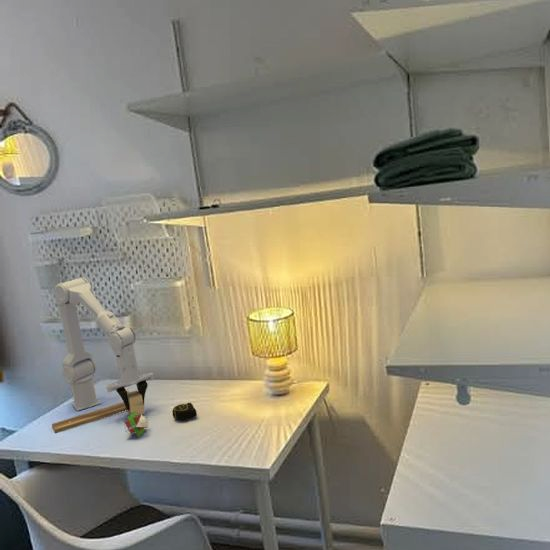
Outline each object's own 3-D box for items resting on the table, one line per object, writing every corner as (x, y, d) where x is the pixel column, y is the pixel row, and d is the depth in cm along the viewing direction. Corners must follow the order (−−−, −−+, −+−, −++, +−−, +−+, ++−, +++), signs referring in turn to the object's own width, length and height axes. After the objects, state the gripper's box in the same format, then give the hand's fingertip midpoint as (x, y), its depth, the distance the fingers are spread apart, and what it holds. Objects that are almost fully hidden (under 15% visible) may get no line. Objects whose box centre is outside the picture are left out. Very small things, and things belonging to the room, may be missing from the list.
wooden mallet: (121, 405, 198) (118, 388, 197) (133, 401, 200) (130, 384, 199) (132, 417, 187) (129, 398, 186) (145, 413, 189) (141, 395, 188)
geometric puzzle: (115, 432, 174) (125, 412, 171) (127, 422, 180) (137, 402, 177) (135, 446, 173) (145, 426, 170) (146, 435, 179) (156, 415, 177)
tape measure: (198, 419, 181) (196, 408, 180) (175, 425, 179) (173, 413, 178) (194, 411, 187) (192, 400, 186) (172, 417, 185) (170, 405, 184)
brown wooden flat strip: (52, 426, 190) (51, 423, 190) (138, 400, 203) (137, 397, 203) (55, 433, 185) (54, 429, 185) (143, 405, 198) (142, 402, 197)
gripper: (107, 375, 181) (115, 417, 183) (153, 362, 187) (161, 403, 190) (102, 370, 187) (110, 411, 189) (147, 357, 194) (154, 397, 196)
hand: (135, 406), depth 190 cm, fingers closed on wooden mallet, 4 cm apart
